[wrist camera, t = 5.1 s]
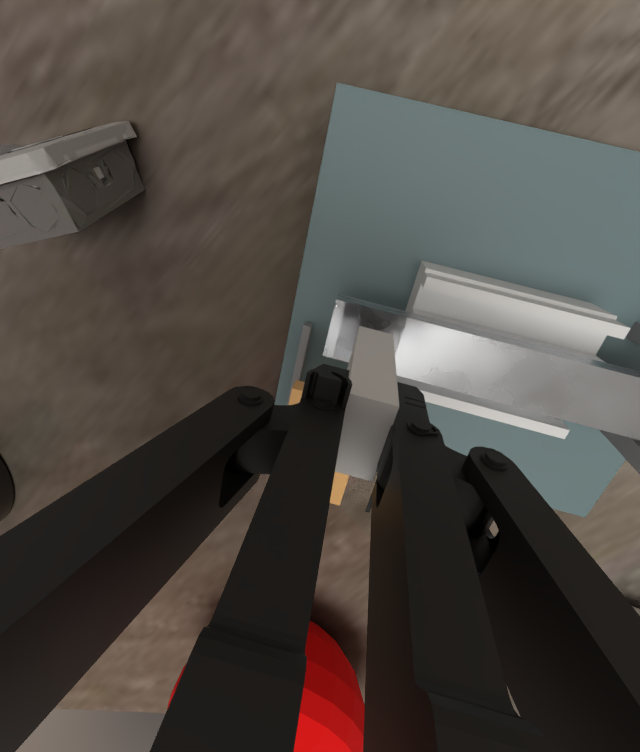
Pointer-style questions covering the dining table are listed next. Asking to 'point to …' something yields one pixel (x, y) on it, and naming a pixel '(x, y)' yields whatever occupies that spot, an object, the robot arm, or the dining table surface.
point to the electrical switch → (65, 183)
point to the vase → (327, 699)
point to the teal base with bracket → (479, 263)
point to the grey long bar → (495, 367)
